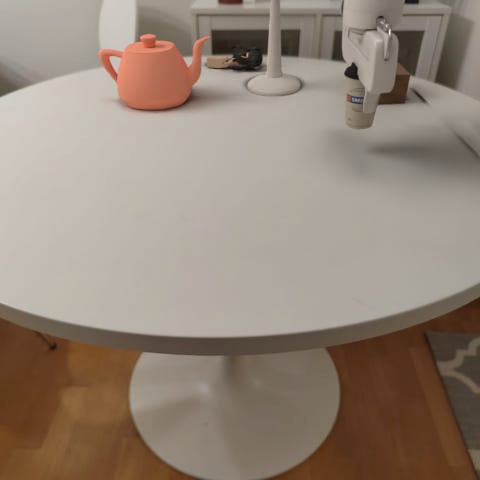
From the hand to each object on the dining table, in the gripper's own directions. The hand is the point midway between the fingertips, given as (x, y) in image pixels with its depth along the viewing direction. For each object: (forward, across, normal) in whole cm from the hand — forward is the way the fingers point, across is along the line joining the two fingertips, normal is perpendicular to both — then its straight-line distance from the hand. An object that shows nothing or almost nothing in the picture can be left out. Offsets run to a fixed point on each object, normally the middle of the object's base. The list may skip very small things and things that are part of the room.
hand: (361, 102), depth 78 cm
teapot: (+8, +31, +39) cm, 50 cm away
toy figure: (+8, +52, +21) cm, 57 cm away
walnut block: (+9, +26, -11) cm, 30 cm away
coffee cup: (+4, 0, 0) cm, 4 cm away
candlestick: (+8, +36, +12) cm, 39 cm away
